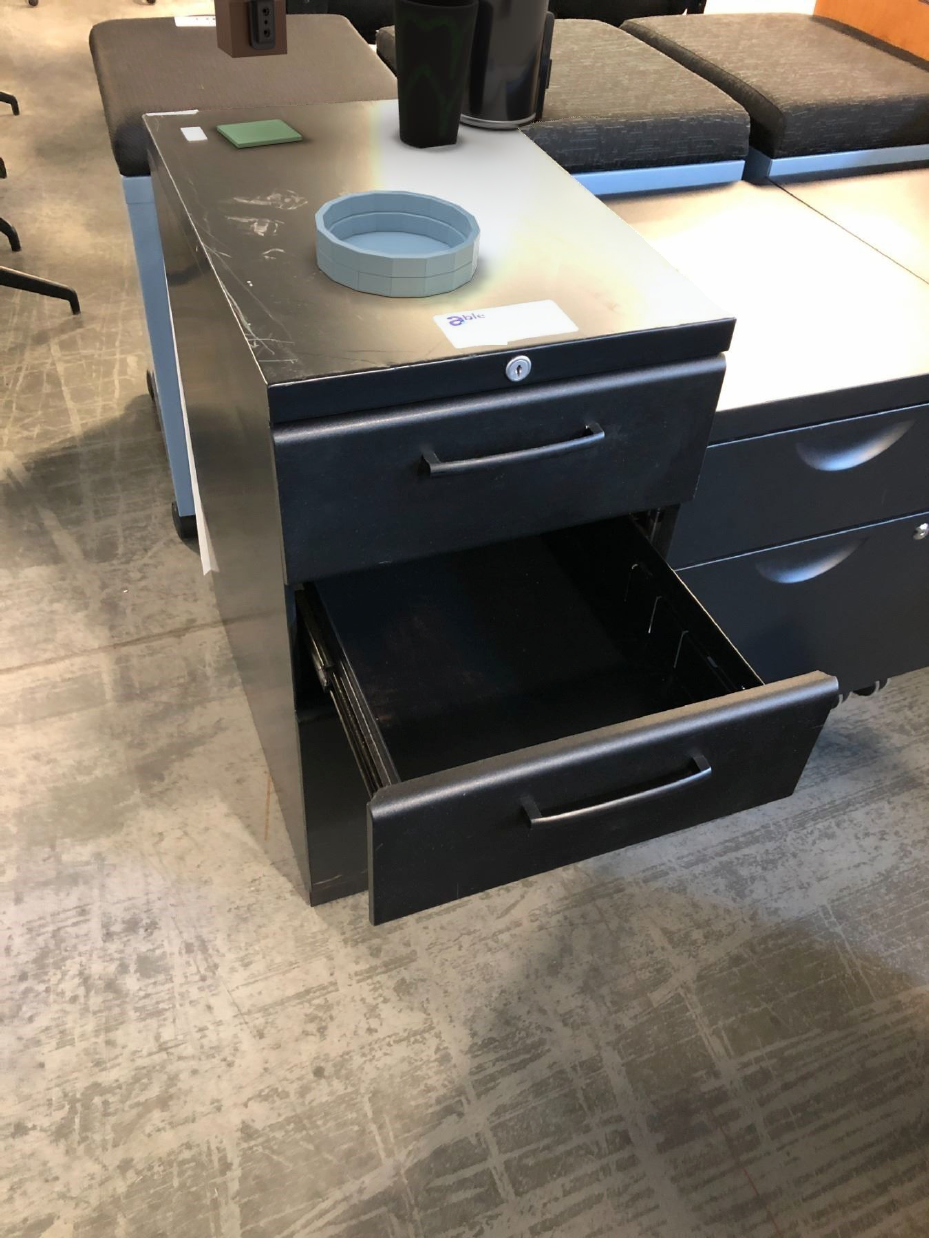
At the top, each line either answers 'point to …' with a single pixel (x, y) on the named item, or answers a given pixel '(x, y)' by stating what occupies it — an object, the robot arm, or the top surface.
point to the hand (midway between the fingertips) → (252, 41)
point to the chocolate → (246, 29)
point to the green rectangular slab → (259, 133)
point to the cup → (432, 67)
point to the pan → (396, 243)
